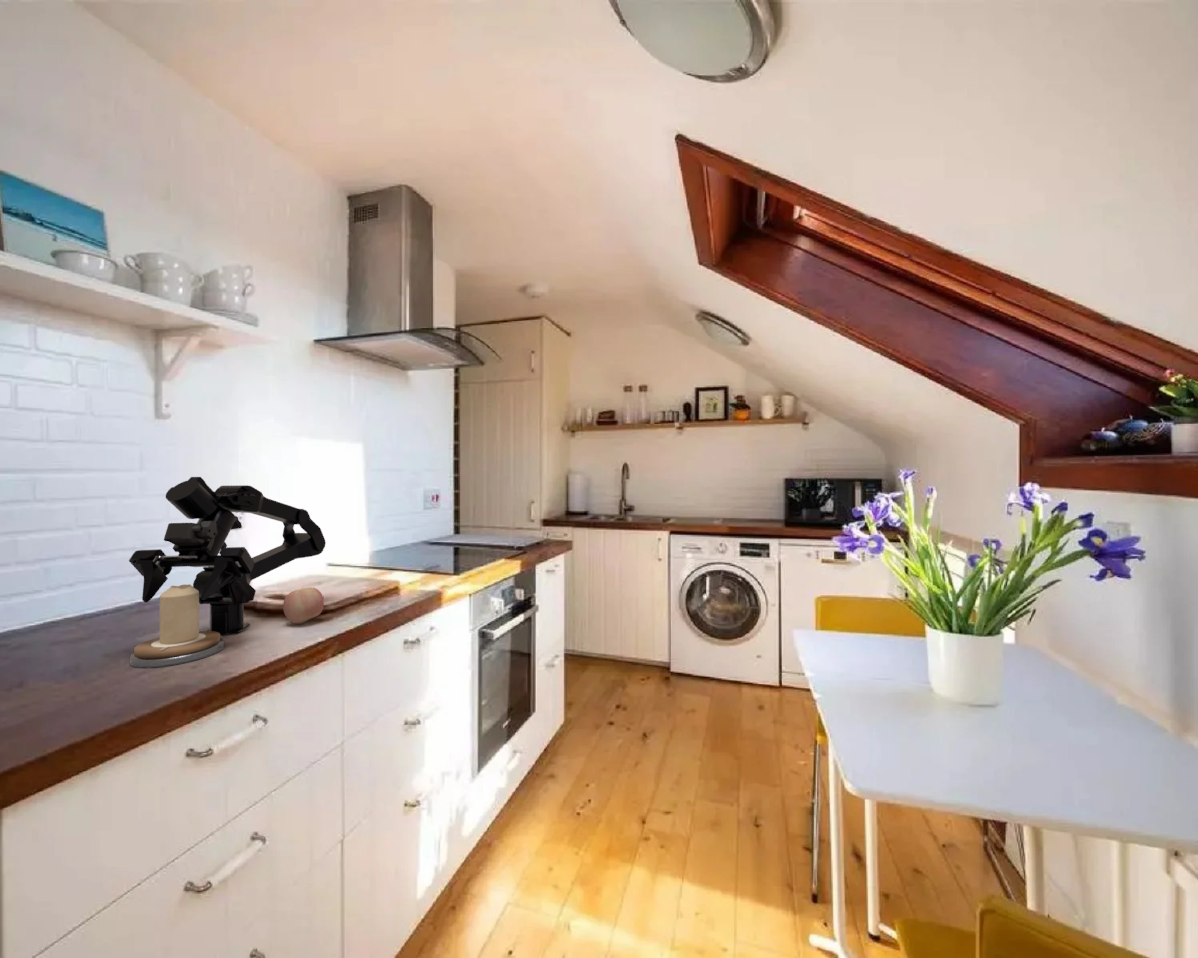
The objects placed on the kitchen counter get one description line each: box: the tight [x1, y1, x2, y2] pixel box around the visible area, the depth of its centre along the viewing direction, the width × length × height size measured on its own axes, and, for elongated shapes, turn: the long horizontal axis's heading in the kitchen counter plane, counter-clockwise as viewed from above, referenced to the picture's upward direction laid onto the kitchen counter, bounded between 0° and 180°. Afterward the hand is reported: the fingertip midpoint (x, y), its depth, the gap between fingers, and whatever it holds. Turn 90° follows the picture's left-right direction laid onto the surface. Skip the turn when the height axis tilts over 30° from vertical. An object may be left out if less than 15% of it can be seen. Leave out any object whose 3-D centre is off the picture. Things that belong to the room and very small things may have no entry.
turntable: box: [133, 630, 221, 659], centre depth 89 cm, size 12×12×1 cm
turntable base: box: [129, 637, 225, 669], centre depth 89 cm, size 13×13×1 cm
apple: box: [282, 586, 325, 625], centre depth 109 cm, size 8×8×8 cm
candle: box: [159, 584, 200, 644], centre depth 89 cm, size 6×6×10 cm
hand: (173, 599), depth 88 cm, fingers open, 9 cm apart
